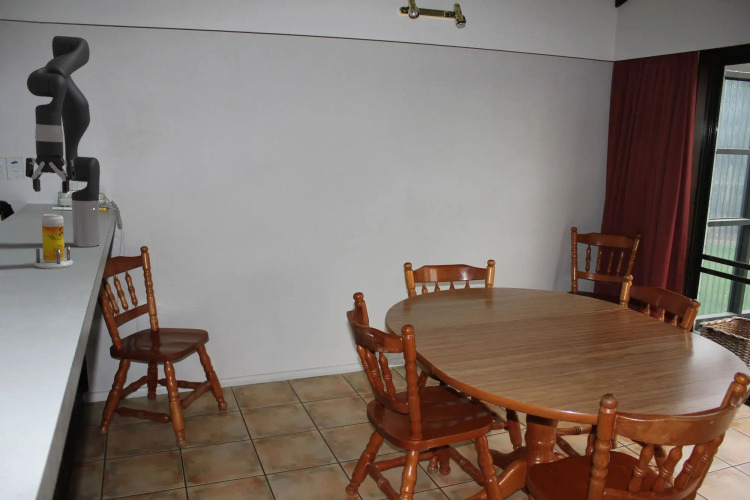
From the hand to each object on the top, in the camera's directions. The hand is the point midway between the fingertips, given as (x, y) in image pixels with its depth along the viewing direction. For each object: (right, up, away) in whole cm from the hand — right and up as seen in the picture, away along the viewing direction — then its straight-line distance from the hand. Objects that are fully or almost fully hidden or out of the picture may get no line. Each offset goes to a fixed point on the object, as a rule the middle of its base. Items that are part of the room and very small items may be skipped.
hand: (51, 192), depth 187 cm
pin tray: (-1, -23, +4) cm, 23 cm away
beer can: (-1, -22, +4) cm, 22 cm away
